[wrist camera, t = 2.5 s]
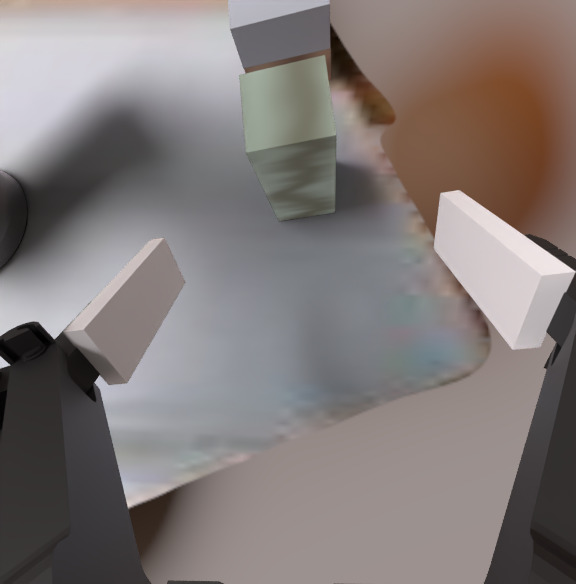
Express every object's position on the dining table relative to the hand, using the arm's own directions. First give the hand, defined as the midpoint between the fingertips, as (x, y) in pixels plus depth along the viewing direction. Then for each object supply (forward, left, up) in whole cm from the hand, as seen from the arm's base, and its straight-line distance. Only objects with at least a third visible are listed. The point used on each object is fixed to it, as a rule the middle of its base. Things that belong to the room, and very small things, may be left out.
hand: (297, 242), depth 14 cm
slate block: (0, +28, -12) cm, 30 cm away
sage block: (0, +11, -16) cm, 19 cm away
